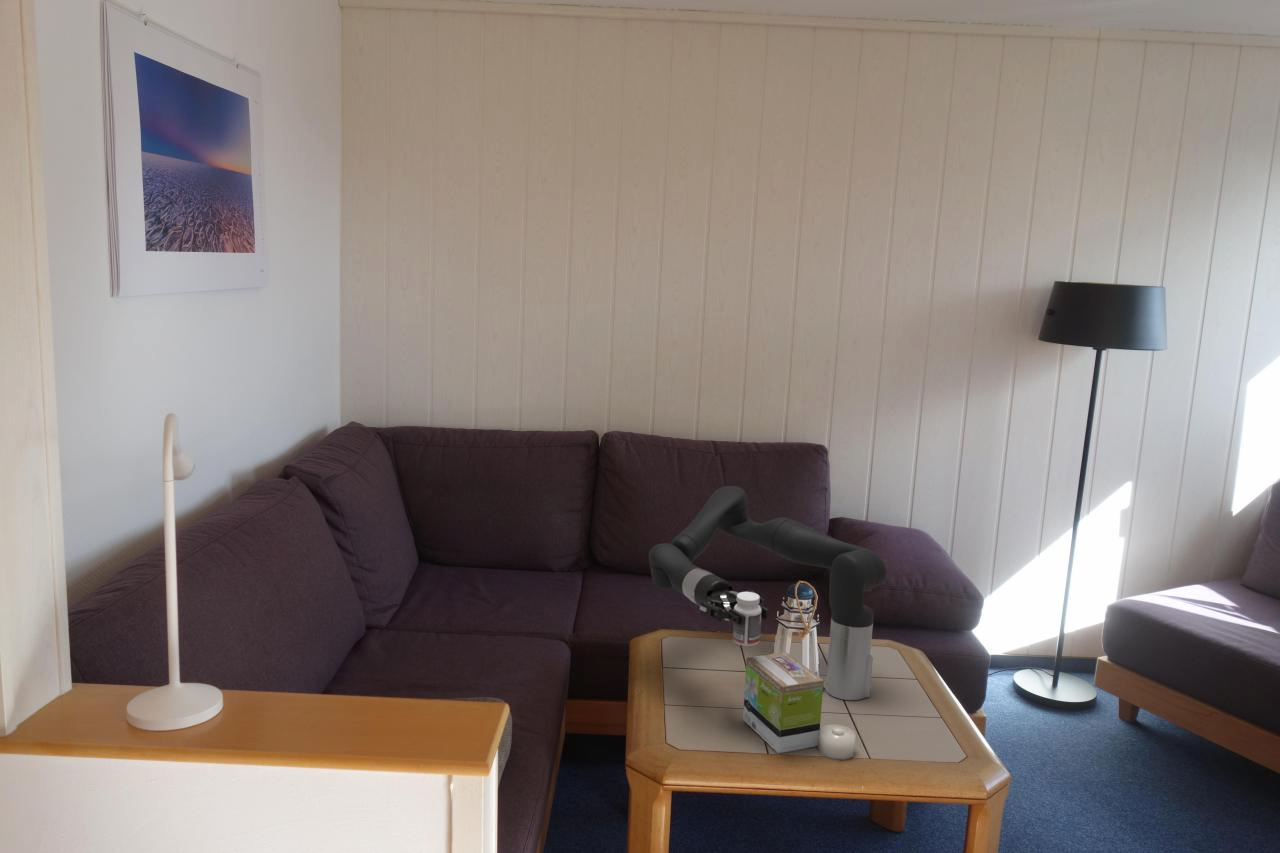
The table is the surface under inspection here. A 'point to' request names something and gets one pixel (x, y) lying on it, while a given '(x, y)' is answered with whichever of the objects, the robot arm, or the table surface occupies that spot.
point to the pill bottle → (748, 619)
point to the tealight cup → (837, 741)
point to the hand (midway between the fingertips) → (755, 618)
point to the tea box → (783, 701)
